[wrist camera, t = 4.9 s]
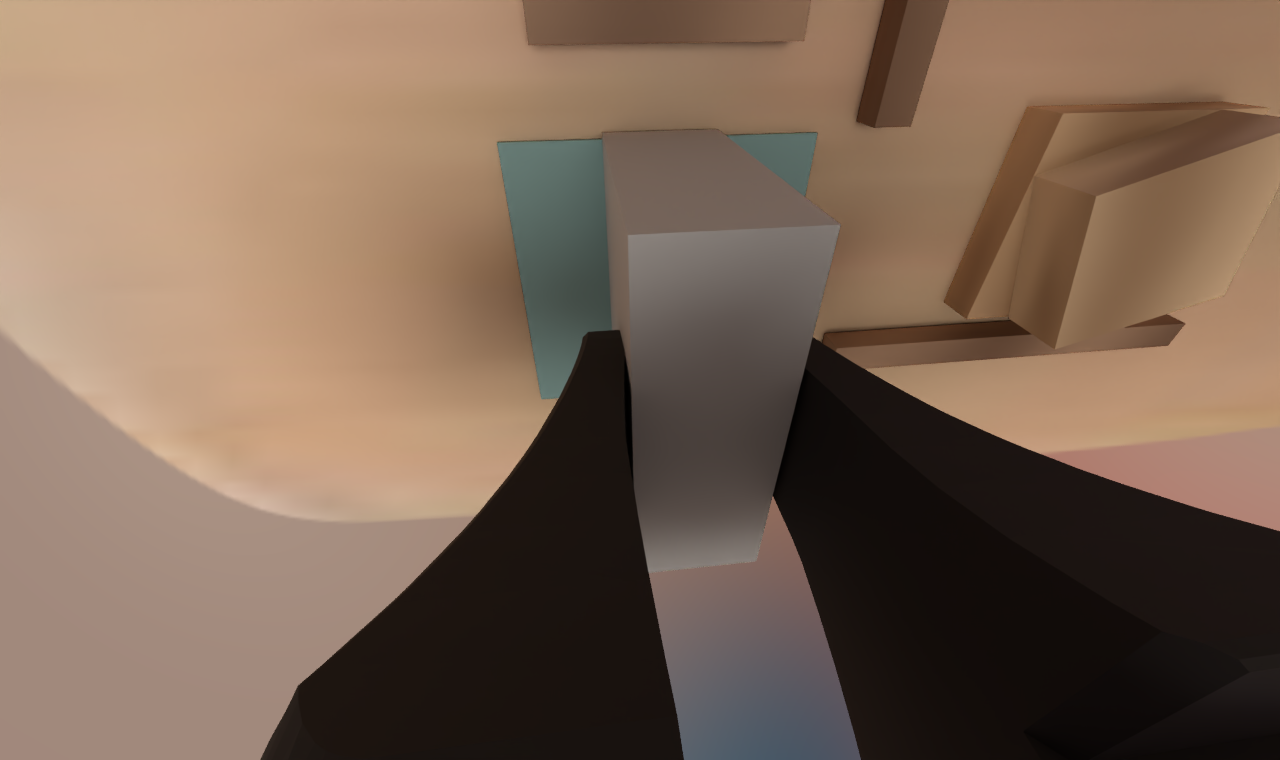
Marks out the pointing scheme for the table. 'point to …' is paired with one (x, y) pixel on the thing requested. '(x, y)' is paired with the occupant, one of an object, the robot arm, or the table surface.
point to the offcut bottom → (1035, 150)
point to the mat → (587, 235)
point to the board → (708, 333)
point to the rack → (911, 20)
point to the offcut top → (1144, 226)
